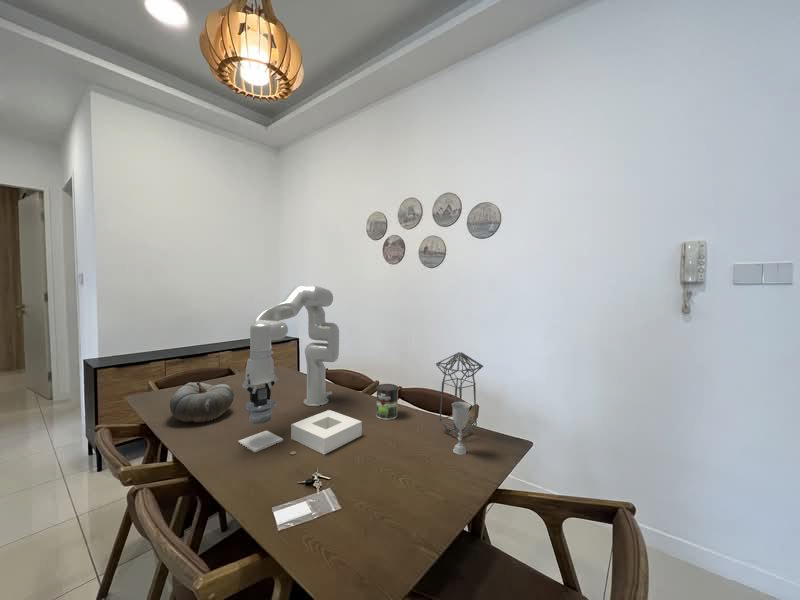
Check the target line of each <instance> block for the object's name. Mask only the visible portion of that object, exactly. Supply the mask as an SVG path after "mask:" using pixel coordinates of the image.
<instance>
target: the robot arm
mask: <svg viewBox="0 0 800 600" xmlns="http://www.w3.org/2000/svg"><path fill="white" fill-rule="evenodd" d="M333 301H334V296H333V293H332V291H331V289H328V288H325V287H321V286H318V285H303V284H302V285H301V284H300V285H295V286H294V287H293V288H292V289H291V290H290V292H289V293H288V294H287V295H286V297H285V298H284V299H283V300H282V302H280V303H278V304H275V305H273V306H271V307H269V308H267V309H265V310H264V311H263V312H261V313H260V314H259V316H258V317H257V318H256V319H255V320H254V322H253V323H252V324H251V325H250V329H249V337H250V338H249V341H250V342H249V344H250V347H249V348H250V349H249V358H248V359H247V361H246V367H245V375H244V376H245V378H244V381H243V383H242V384H241V387H242V389H244V390H246V391H247V392H248V393H249V394H250V395H249V400H250V401H251V402H252V403H254V404H256V403H257V393H255V392H256V388H257V387H258V386H259V385H261V386H262V385H265V387H267V399H268V400H270V399H271V396H272V395H271V393H272V392H271V390H273V387H274V385H275V384H276V383H277V381H278V380H279V377H278V376H277V375H276V373H275V364H274V359H273V357H272V354H274V350H273V349H272V341H274V340H277V341H278V340H283V339H284V338H285V337H286V336H287V334H288V333H289V332H288V331H289V327H288V325H287V324H286V323H285V322H283V321H284V320H288V319H291V318H294V317H296V316H297V315H298V314H299V313H300V312H301V310H302V308H303V307H304V308H305V309H306V311H307V315H308V318H307V319H308V322H307V323H308V324H307V325H308V327H307V329H308V330H307V331H308V338H309V339H311V340H313V341H322V342H310V343H308V344H306V346H305V349H304V354H305V361H306V398H304V400H303V404H304V405H305V406H308V407H320V405H321V406H324V405H326V404H328V403H329V398H328V396H332V395H333V392H332V391H326V366H325V364H324V363H335V362H336V361H337V360H338V359H339V355H340V328H339V326H338V324H336V323H334V322H326V312H325V309H324V307H325V308H326V307H327V308H328V307H329V306H331V305H332V304H333ZM324 342H325V343H324ZM250 401H249V402H250Z"/></svg>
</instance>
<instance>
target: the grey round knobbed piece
mask: <svg viewBox="0 0 800 600" xmlns="http://www.w3.org/2000/svg"><path fill="white" fill-rule="evenodd" d="M255 393H257V403H256V404H254V403H252V402H251V401H248V402H246V403H245V404H244V406H245V407H244V409H245V410H246V411H248V413H249V414H248V415H249V416H248V417H249V418H248V421H249V423H250V424H253V425H258V424H259V425H261V424H265V423H268V422H270V421H271V420H272V409H273V408H275V407H276V405H277V402H276V400H275V399H272V398H270V400H268V399H267V387H265V386H262V385H261V386H257V388H256V392H255Z"/></svg>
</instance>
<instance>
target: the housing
mask: <svg viewBox="0 0 800 600" xmlns="http://www.w3.org/2000/svg"><path fill="white" fill-rule="evenodd" d="M362 424H363V421H362V420H359V419H356V418H354V417H351V416H348V415H345V414H342V413H340V412H337V411H333V410H331V409H327V410H324V411H322V412H320V413H317V414H314V415H312V416H309V417H307V418H303V419H301V420H299V421H297V422H293V423H291V424H290V428H291V429H290V439H291V440H293V441H294V442H297V443H299V444H301V445H303V446H305V447H306V448H310V449H312V450H314V451H316V452H318V453H320V454H322V455H326V454H328V453H331V452H333V451H334V450H336V449H339V448H340V447H342V446H344V445H346V444H348V443H350V442H351V441H354V440H357V438H359V437H361V436H362V433H363V432H362V430H363V429H362V427H363V425H362Z"/></svg>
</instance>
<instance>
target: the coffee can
mask: <svg viewBox="0 0 800 600" xmlns="http://www.w3.org/2000/svg"><path fill="white" fill-rule="evenodd" d="M398 396H399V386H398V385H397V384H393V383H381V384H379V385H376V415H375V416H376V418H377V419H380V420H383V421H384V420H386V421H390V420H395V419H396V418H397V417H398V405H399V402H398V398H399V397H398Z"/></svg>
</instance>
